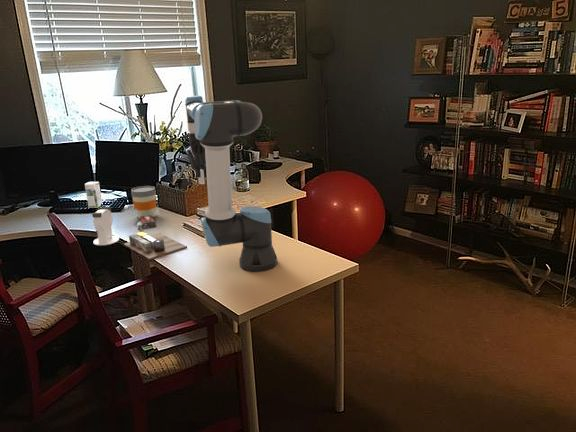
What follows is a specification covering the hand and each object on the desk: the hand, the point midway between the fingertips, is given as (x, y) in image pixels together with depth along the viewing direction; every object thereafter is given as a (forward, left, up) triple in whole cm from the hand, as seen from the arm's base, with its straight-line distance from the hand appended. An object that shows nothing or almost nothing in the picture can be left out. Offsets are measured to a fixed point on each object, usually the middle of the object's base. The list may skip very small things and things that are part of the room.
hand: (201, 183), depth 222 cm
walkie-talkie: (+31, +15, -25) cm, 43 cm away
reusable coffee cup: (+46, +7, -25) cm, 53 cm away
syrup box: (+83, +19, -25) cm, 89 cm away
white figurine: (+27, +37, -25) cm, 52 cm away
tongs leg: (+4, +26, -23) cm, 36 cm away
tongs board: (+3, +25, -24) cm, 35 cm away
